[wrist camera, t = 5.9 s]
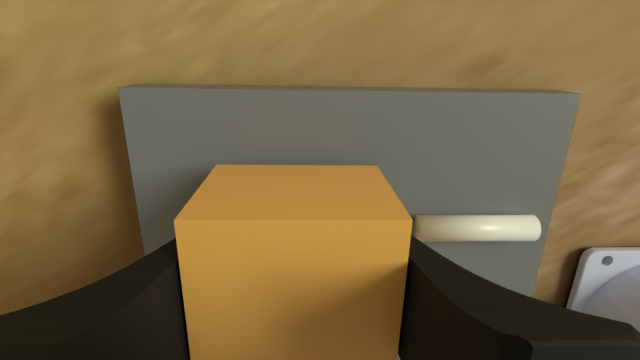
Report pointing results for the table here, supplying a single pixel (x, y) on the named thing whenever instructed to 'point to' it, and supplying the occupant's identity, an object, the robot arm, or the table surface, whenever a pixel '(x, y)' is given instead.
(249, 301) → the light wooden brick
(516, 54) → the table surface
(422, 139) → the flat gray rectangular board
